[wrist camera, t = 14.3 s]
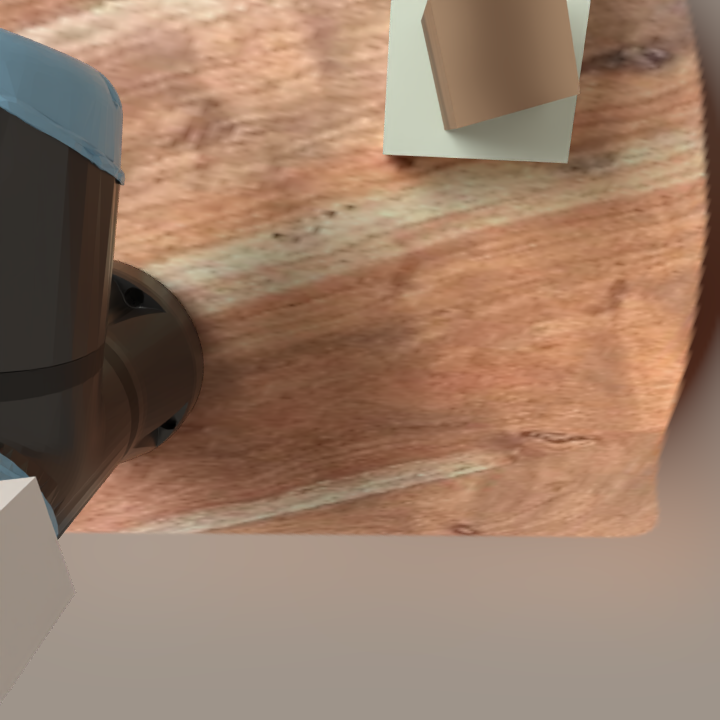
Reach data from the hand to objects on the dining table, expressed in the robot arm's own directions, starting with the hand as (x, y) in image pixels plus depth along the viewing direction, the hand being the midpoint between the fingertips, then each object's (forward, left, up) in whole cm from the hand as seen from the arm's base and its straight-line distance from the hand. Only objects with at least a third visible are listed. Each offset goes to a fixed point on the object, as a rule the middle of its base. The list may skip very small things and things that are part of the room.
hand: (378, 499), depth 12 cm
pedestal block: (+7, +10, -35) cm, 37 cm away
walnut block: (+7, +10, -30) cm, 32 cm away
